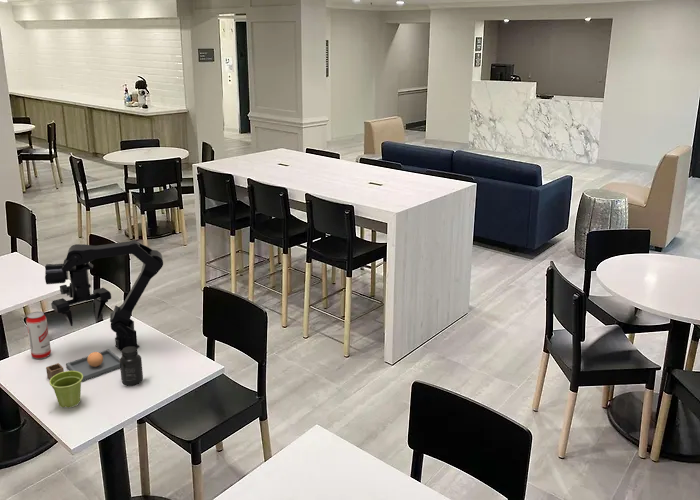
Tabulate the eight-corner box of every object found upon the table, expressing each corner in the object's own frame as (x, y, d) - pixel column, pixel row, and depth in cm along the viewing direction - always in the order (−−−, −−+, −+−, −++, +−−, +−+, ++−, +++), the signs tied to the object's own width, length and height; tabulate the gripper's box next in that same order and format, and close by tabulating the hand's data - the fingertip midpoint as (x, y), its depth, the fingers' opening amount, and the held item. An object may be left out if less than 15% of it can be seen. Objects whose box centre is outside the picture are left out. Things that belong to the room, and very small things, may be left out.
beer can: (55, 351, 216) (49, 311, 211) (44, 360, 210) (38, 319, 205) (38, 350, 216) (32, 310, 211) (27, 359, 211) (21, 317, 205)
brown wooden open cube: (59, 373, 203) (58, 363, 202) (64, 378, 200) (63, 367, 199) (47, 377, 200) (46, 367, 199) (52, 382, 198) (50, 371, 196)
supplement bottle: (147, 378, 202) (145, 346, 198) (134, 388, 196) (131, 356, 192) (130, 374, 204) (127, 342, 200) (117, 384, 198) (113, 352, 194)
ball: (99, 360, 211) (98, 347, 209) (106, 366, 207) (105, 353, 206) (85, 365, 207) (84, 352, 206) (91, 371, 204) (90, 357, 202)
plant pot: (61, 415, 181) (58, 390, 178) (47, 402, 187) (43, 378, 184) (91, 402, 188) (88, 378, 185) (76, 390, 194) (73, 367, 191)
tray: (108, 353, 217) (108, 349, 216) (124, 366, 209) (124, 362, 208) (66, 368, 206) (65, 363, 206) (81, 382, 198) (80, 377, 198)
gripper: (96, 268, 219) (100, 307, 225) (42, 281, 206) (48, 321, 212) (110, 277, 212) (114, 317, 217) (55, 291, 199) (61, 333, 205)
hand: (84, 321), depth 213 cm, fingers open, 9 cm apart
